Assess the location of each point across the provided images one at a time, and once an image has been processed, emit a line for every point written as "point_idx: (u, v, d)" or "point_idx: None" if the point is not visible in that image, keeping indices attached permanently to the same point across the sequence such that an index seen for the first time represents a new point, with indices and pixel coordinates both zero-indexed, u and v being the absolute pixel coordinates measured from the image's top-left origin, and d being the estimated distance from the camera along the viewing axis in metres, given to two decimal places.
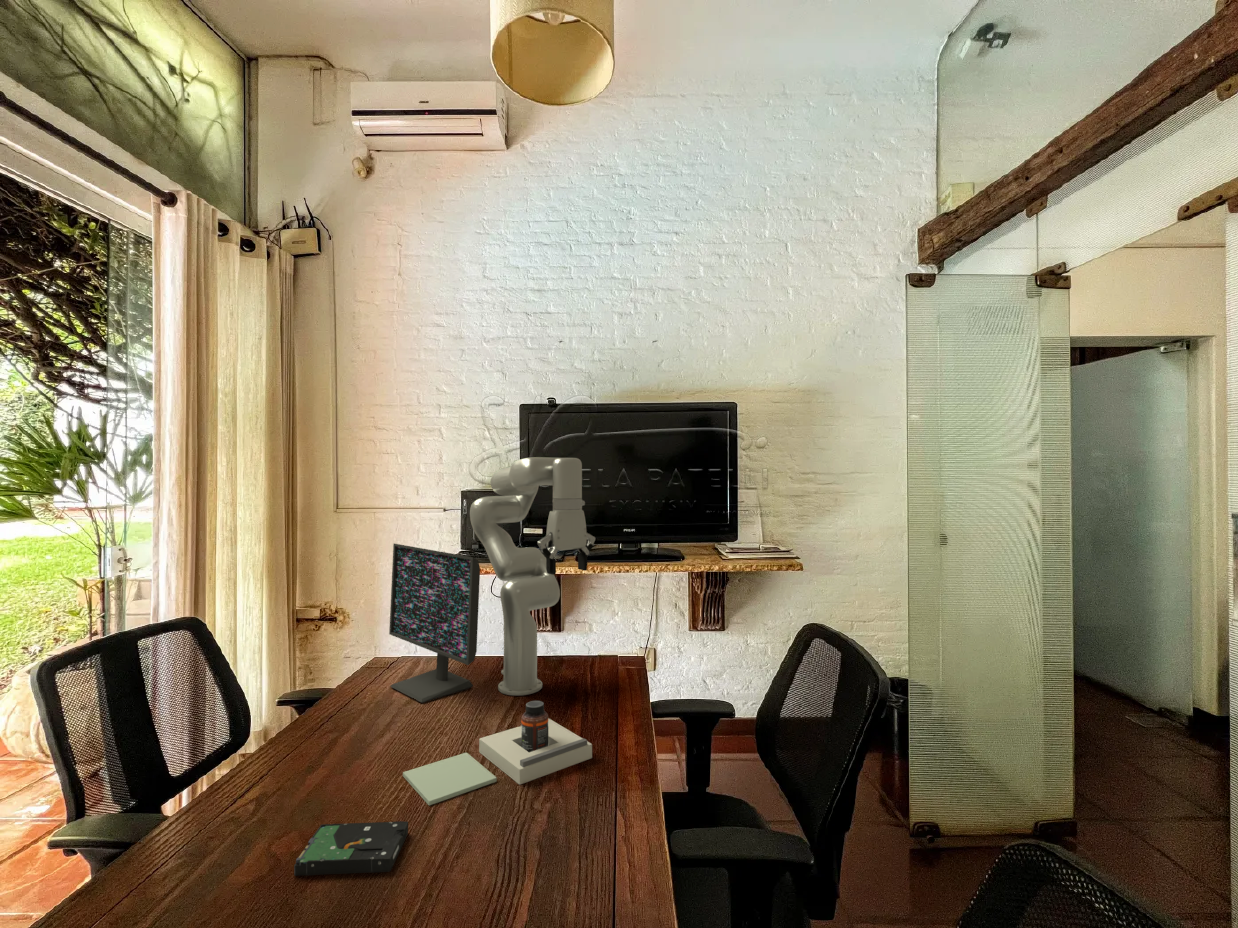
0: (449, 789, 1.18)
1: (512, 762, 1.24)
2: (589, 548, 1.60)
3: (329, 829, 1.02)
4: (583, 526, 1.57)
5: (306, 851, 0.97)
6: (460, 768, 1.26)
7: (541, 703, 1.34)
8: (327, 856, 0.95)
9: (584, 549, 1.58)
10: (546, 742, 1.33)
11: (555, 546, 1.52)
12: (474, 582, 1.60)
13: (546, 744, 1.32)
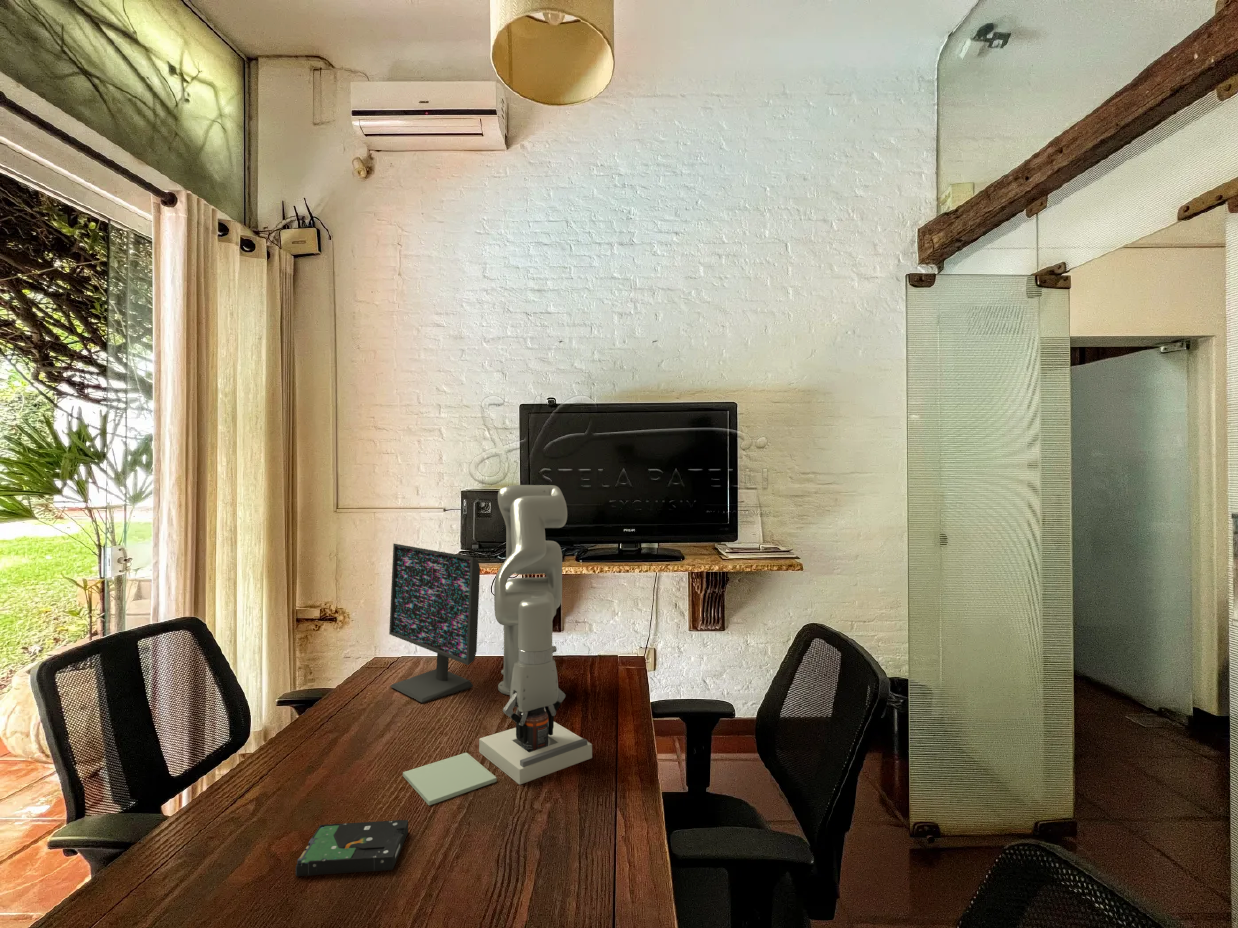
0: (449, 789, 1.18)
1: (512, 762, 1.24)
2: (555, 706, 1.36)
3: (329, 829, 1.02)
4: (554, 679, 1.34)
5: (307, 851, 0.96)
6: (460, 768, 1.26)
7: None
8: (328, 856, 0.95)
9: (551, 708, 1.35)
10: (546, 742, 1.33)
11: (520, 708, 1.29)
12: (474, 582, 1.60)
13: (546, 744, 1.32)
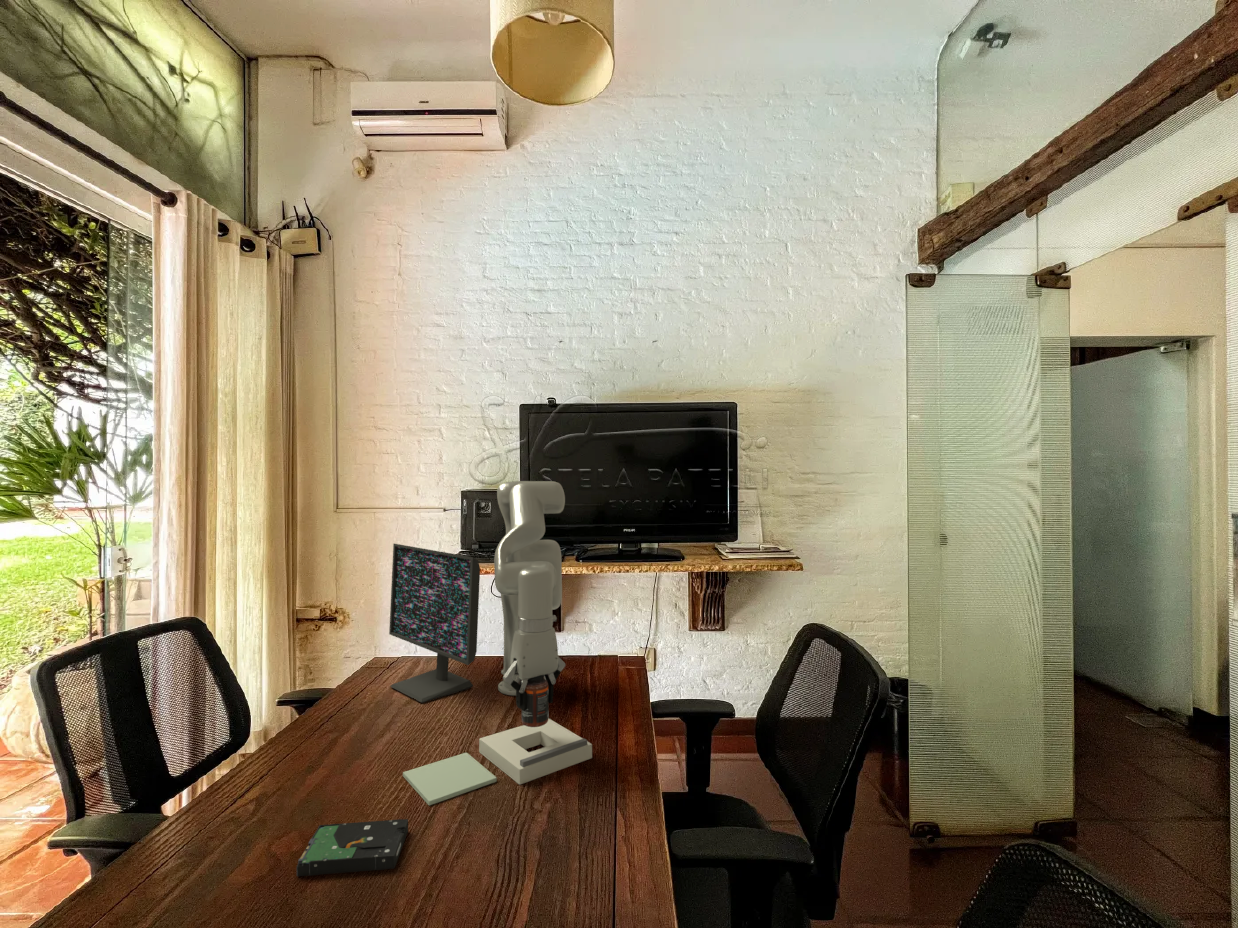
0: (449, 789, 1.18)
1: (512, 762, 1.24)
2: (555, 675, 1.37)
3: (328, 829, 1.02)
4: (554, 647, 1.35)
5: (307, 852, 0.96)
6: (460, 768, 1.26)
7: None
8: (329, 855, 0.95)
9: (551, 677, 1.35)
10: (546, 709, 1.33)
11: (520, 675, 1.30)
12: (474, 582, 1.60)
13: (546, 711, 1.33)
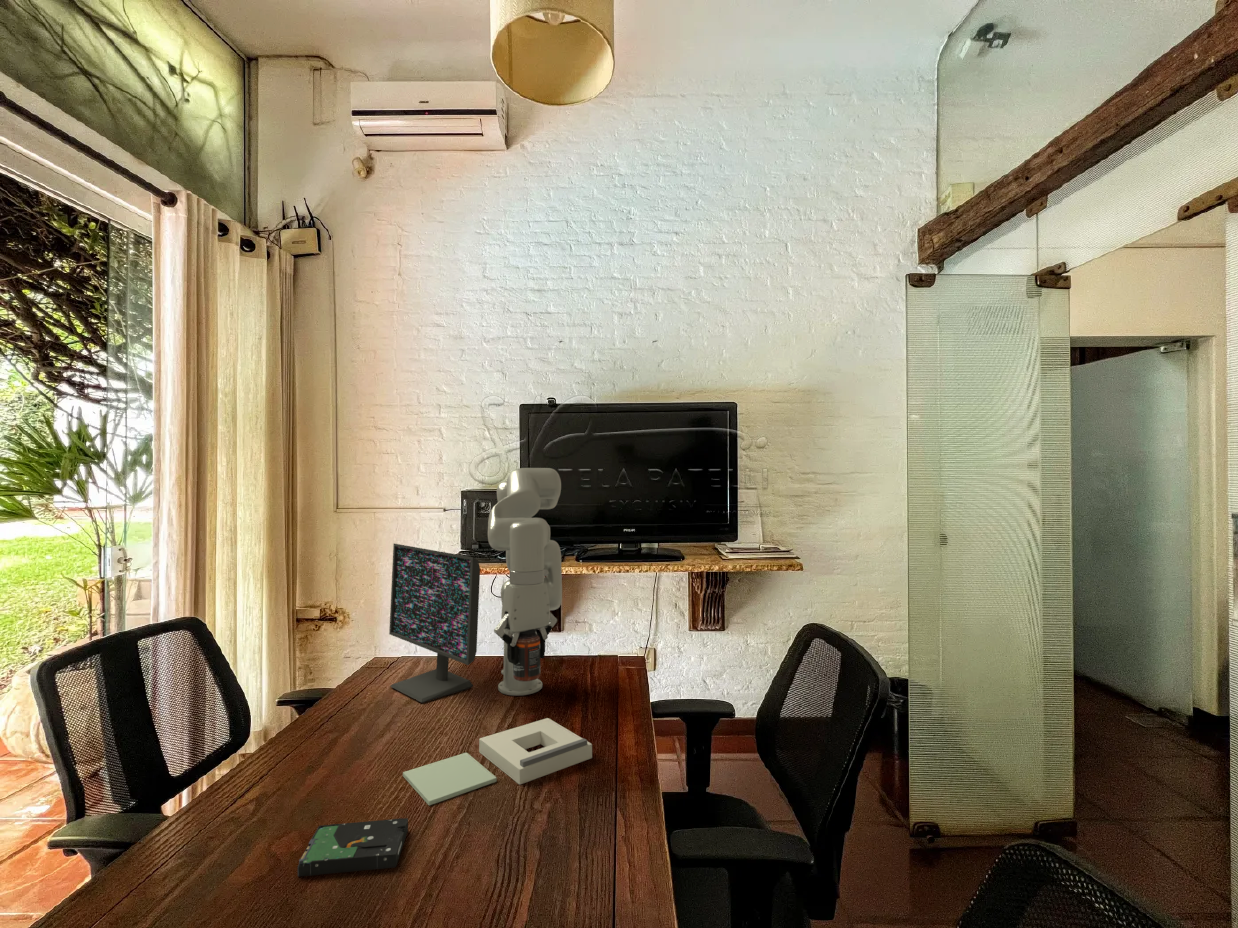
0: (449, 789, 1.18)
1: (512, 762, 1.24)
2: (547, 630, 1.35)
3: (328, 830, 1.02)
4: (545, 602, 1.33)
5: (308, 852, 0.96)
6: (460, 768, 1.26)
7: None
8: (330, 855, 0.96)
9: (542, 632, 1.34)
10: (538, 664, 1.32)
11: (511, 628, 1.28)
12: (474, 582, 1.60)
13: (538, 666, 1.32)
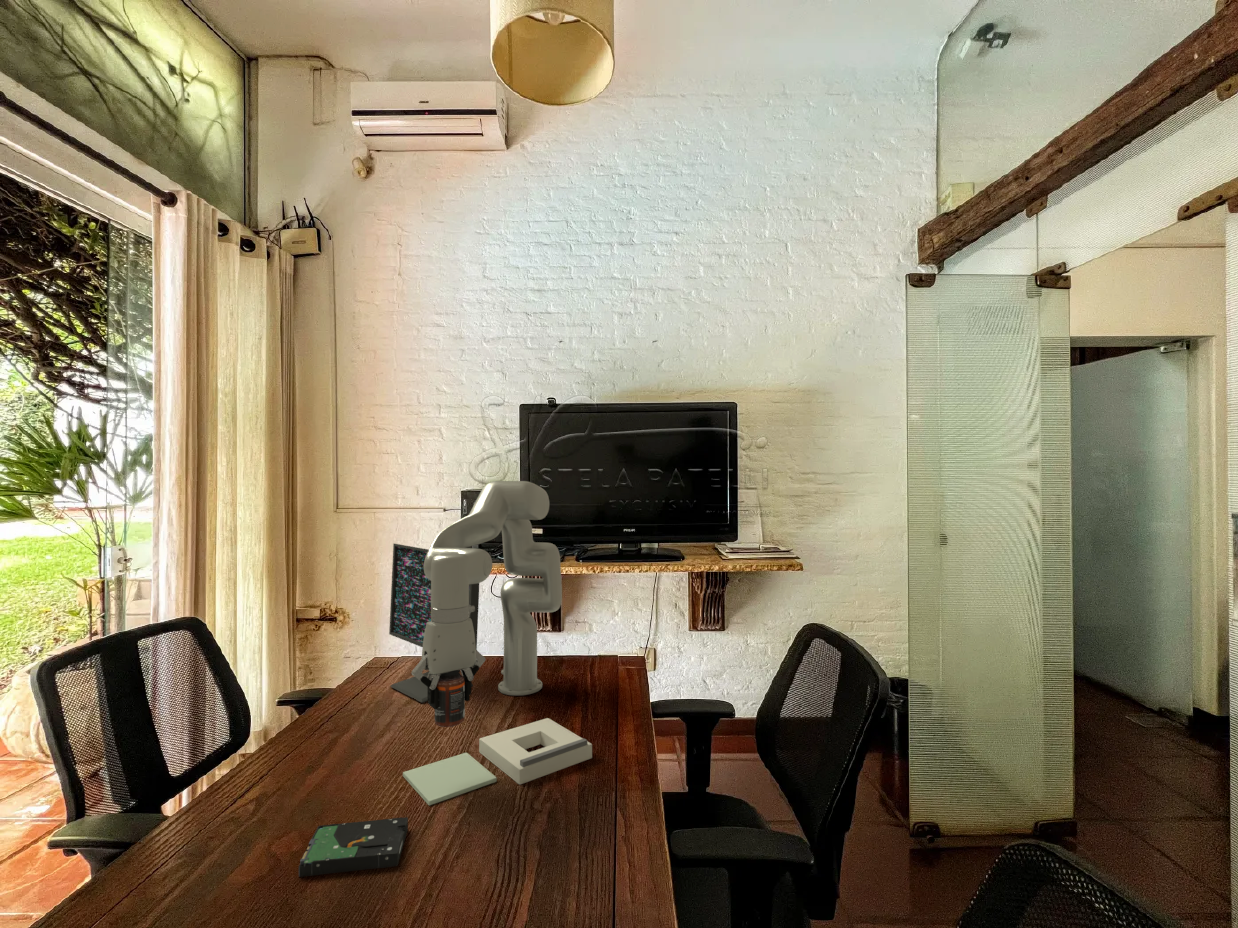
0: (449, 789, 1.18)
1: (512, 762, 1.24)
2: (473, 670, 1.26)
3: (328, 830, 1.02)
4: (470, 640, 1.24)
5: (309, 852, 0.96)
6: (460, 768, 1.26)
7: None
8: (331, 855, 0.96)
9: (467, 672, 1.25)
10: (461, 708, 1.22)
11: (430, 670, 1.19)
12: None
13: (461, 710, 1.22)
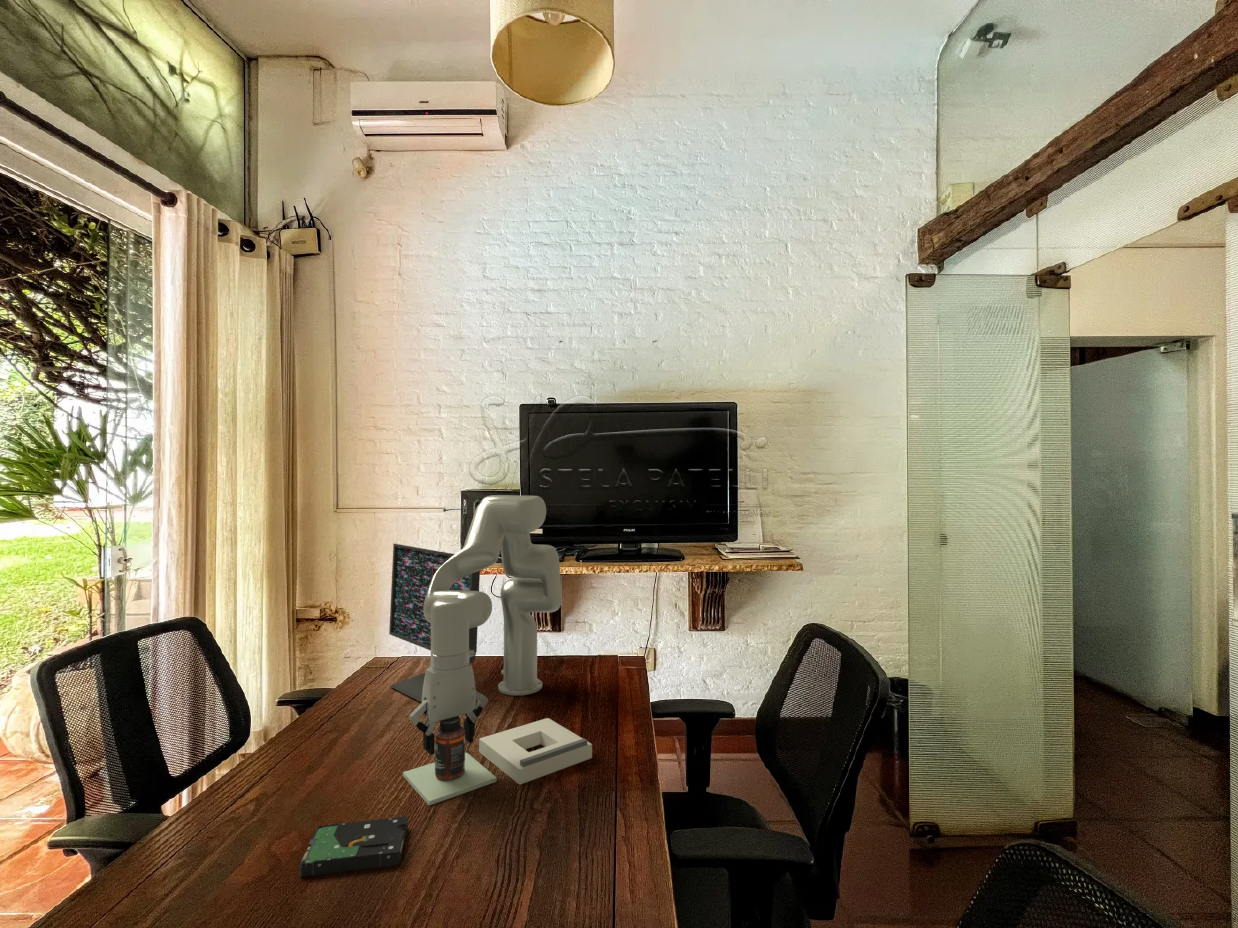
0: (449, 789, 1.18)
1: (512, 762, 1.24)
2: (477, 712, 1.26)
3: (327, 830, 1.02)
4: (470, 685, 1.24)
5: (309, 852, 0.96)
6: None
7: (457, 718, 1.24)
8: (332, 855, 0.96)
9: (470, 715, 1.25)
10: (461, 760, 1.22)
11: (430, 717, 1.19)
12: (474, 582, 1.60)
13: (461, 763, 1.22)
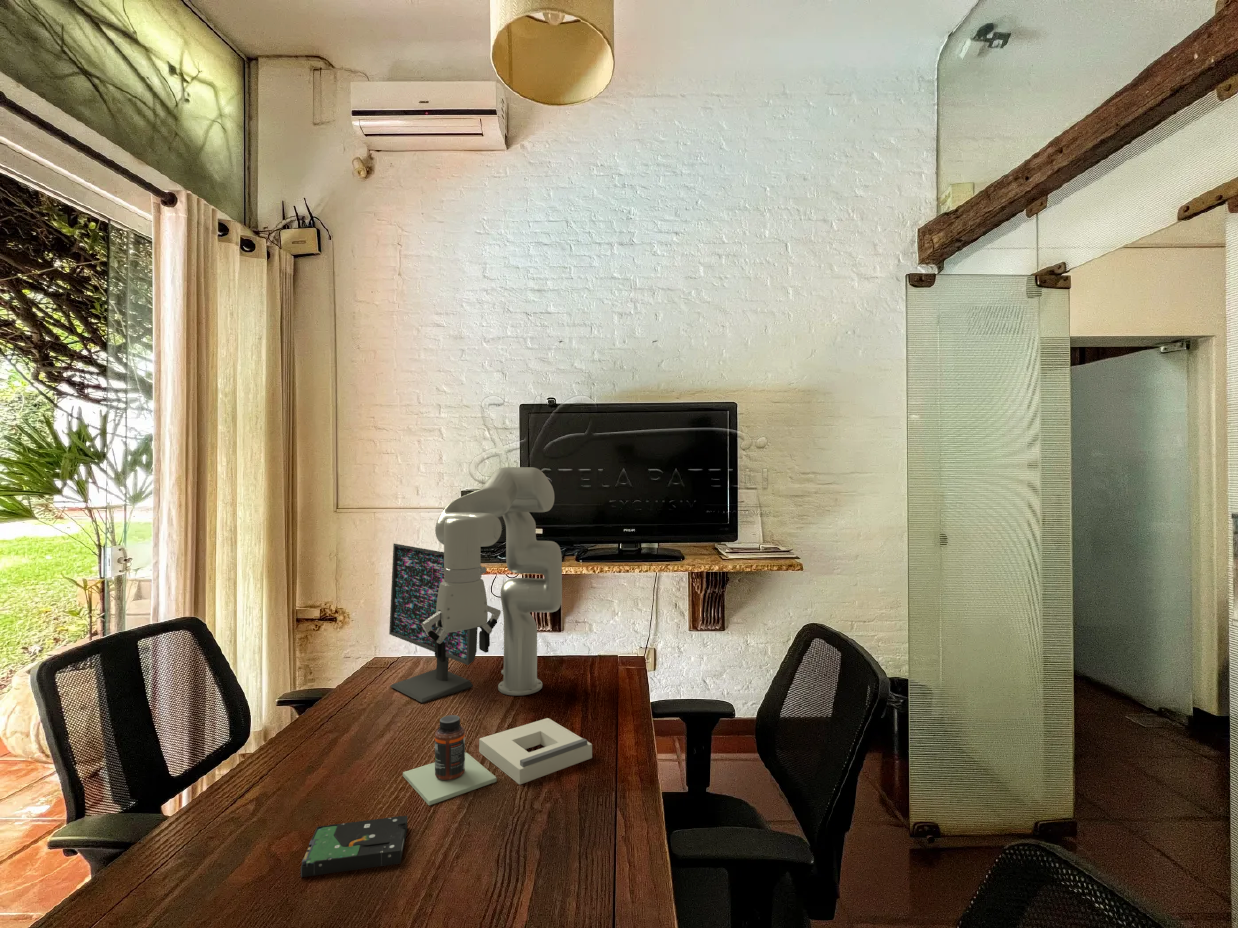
0: (449, 789, 1.18)
1: (512, 762, 1.24)
2: (492, 624, 1.32)
3: (327, 830, 1.02)
4: (482, 600, 1.29)
5: (310, 852, 0.96)
6: None
7: (457, 718, 1.24)
8: (333, 854, 0.96)
9: (485, 627, 1.30)
10: (461, 760, 1.22)
11: (444, 628, 1.24)
12: None
13: (461, 762, 1.22)
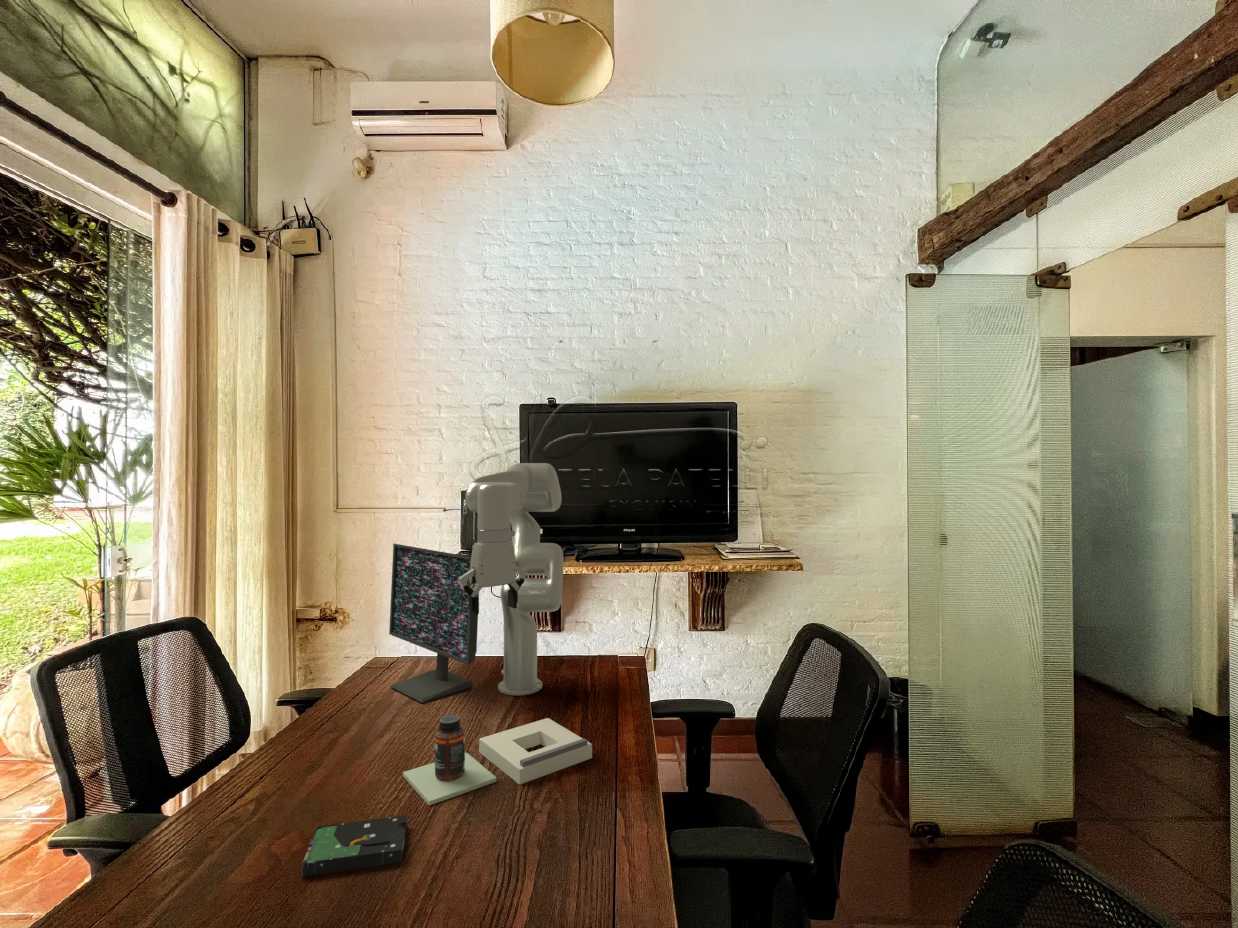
0: (449, 789, 1.18)
1: (512, 762, 1.24)
2: (520, 583, 1.44)
3: (327, 830, 1.02)
4: (512, 559, 1.41)
5: (310, 852, 0.96)
6: None
7: (457, 718, 1.24)
8: (334, 854, 0.96)
9: (513, 585, 1.43)
10: (461, 760, 1.22)
11: (478, 583, 1.37)
12: None
13: (461, 763, 1.22)
